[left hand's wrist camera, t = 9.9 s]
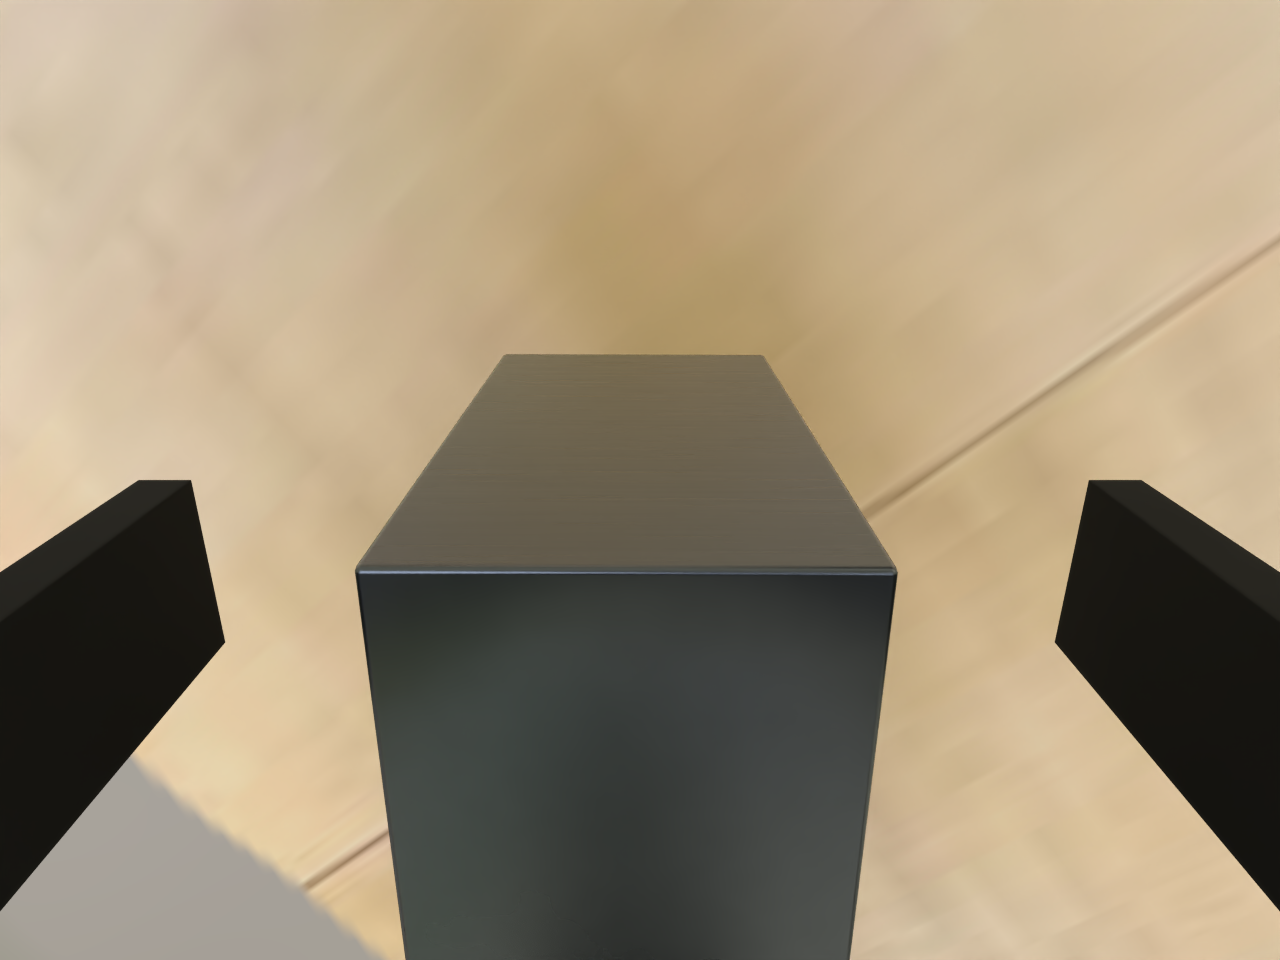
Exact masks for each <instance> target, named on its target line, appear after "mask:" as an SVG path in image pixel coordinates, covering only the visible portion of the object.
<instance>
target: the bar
mask: <svg viewBox="0 0 1280 960" xmlns="http://www.w3.org/2000/svg"><path fill="white" fill-rule="evenodd" d="M355 575H356V583H357V590H358V598H359V606H360V613H361V621H362V629H363V636H364V644H365V652H366V659H367V667H368V675H369V682H370V690H371V698H372V705H373V713H374V721H375V728H376V736H377V744H378V751H379V759H380V767H381V774H382V782H383V790H384V797H385V805H386V813H387V820H388V828H389V836H390V843H391V851H392V859H393V866H394V874H395V882H396V889H397V897H398V905H399V912H400V920H401V928H402V935H403V943H404V951H405V958H406V960H850V953H851V945H852V937H853V929H854V921H855V913H856V904H857V896H858V888H859V880H860V872H861V864H862V856H863V848H864V840H865V832H866V824H867V816H868V808H869V800H870V792H871V784H872V776H873V768H874V760H875V752H876V744H877V736H878V728H879V719H880V711H881V703H882V695H883V687H884V679H885V671H886V663H887V655H888V647H889V639H890V631H891V623H892V615H893V607H894V599H895V591H896V583H897V575H898V572H897V569H896V567H895V565H894V563H893V562H892V560H891V559H890V557H889V555H888V554H887V552H886V551H885V549H884V547H883V546H882V544H881V543H880V541H879V540H878V538H877V536H876V535H875V533H874V532H873V530H872V528H871V527H870V525H869V524H868V522H867V520H866V519H865V517H864V516H863V514H862V512H861V511H860V509H859V508H858V506H857V504H856V503H855V501H854V500H853V498H852V496H851V495H850V493H849V492H848V490H847V488H846V487H845V485H844V484H843V482H842V481H841V479H840V477H839V476H838V474H837V473H836V471H835V469H834V468H833V466H832V465H831V463H830V461H829V460H828V458H827V457H826V455H825V453H824V452H823V450H822V449H821V447H820V445H819V444H818V442H817V441H816V439H815V437H814V436H813V434H812V433H811V431H810V429H809V428H808V426H807V425H806V423H805V421H804V420H803V418H802V417H801V415H800V414H799V412H798V410H797V409H796V407H795V406H794V404H793V402H792V401H791V399H790V398H789V396H788V394H787V393H786V391H785V390H784V388H783V386H782V385H781V383H780V382H779V380H778V378H777V377H776V375H775V374H774V372H773V370H772V369H771V367H770V366H769V364H768V362H767V361H766V359H765V358H764V356H762V355H539V354H506V355H504V356H503V358H502V359H501V360H500V362H499V363H498V365H497V366H496V368H495V369H494V370H493V372H492V373H491V375H490V376H489V378H488V379H487V380H486V382H485V383H484V385H483V386H482V388H481V389H480V390H479V392H478V393H477V395H476V396H475V398H474V399H473V400H472V402H471V403H470V405H469V406H468V408H467V409H466V410H465V412H464V413H463V415H462V416H461V418H460V419H459V420H458V422H457V423H456V425H455V426H454V428H453V429H452V430H451V432H450V433H449V435H448V436H447V438H446V439H445V440H444V442H443V443H442V445H441V446H440V448H439V449H438V450H437V452H436V453H435V455H434V456H433V458H432V459H431V460H430V462H429V463H428V465H427V466H426V468H425V469H424V470H423V472H422V473H421V475H420V476H419V478H418V479H417V480H416V482H415V483H414V485H413V486H412V488H411V489H410V490H409V492H408V493H407V495H406V496H405V498H404V499H403V500H402V502H401V503H400V505H399V506H398V508H397V509H396V510H395V512H394V513H393V515H392V516H391V518H390V519H389V520H388V522H387V523H386V525H385V526H384V528H383V529H382V530H381V532H380V533H379V535H378V536H377V538H376V539H375V540H374V542H373V543H372V545H371V546H370V548H369V549H368V550H367V552H366V553H365V555H364V556H363V558H362V559H361V560H360V562H359V563H358V565H357V566H356V569H355Z"/></svg>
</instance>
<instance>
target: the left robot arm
mask: <svg viewBox="0 0 1280 960" xmlns="http://www.w3.org/2000/svg"><path fill="white" fill-rule="evenodd" d="M224 643H225V639H224V634H223V630H222V625H221V620H220V615H219V611H218V606H217V601H216V596H215V592H214V587H213V582H212V577H211V573H210V568H209V563H208V558H207V554H206V549H205V544H204V539H203V535H202V530H201V525H200V520H199V516H198V511H197V506H196V501H195V497H194V492H193V487H192V482H191V480H138V481H137V482H135V483H134V484H132V485H131V486H129V487H128V488H126V489H125V490H123V491H122V492H120V493H119V494H117V495H116V496H114V497H113V498H111V499H110V500H108V501H107V502H105V503H104V504H102V505H101V506H99V507H98V508H96V509H95V510H93V511H92V512H90V513H89V514H87V515H86V516H84V517H83V518H81V519H80V520H78V521H77V522H75V523H74V524H72V525H71V526H69V527H68V528H66V529H65V530H63V531H62V532H60V533H59V534H57V535H56V536H54V537H53V538H51V539H50V540H48V541H47V542H45V543H44V544H42V545H41V546H39V547H38V548H36V549H35V550H33V551H32V552H30V553H29V554H27V555H25V556H24V557H22V558H21V559H19V560H18V561H16V562H15V563H13V564H12V565H10V566H9V567H7V568H6V569H4V570H3V571H1V572H0V911H1V910H2V908H3V907H4V906H5V905H6V904H7V902H8V901H9V900H10V899H11V898H12V896H13V895H14V894H15V893H16V892H17V891H18V889H19V888H20V887H21V886H22V884H23V883H24V882H25V881H26V880H27V879H28V877H29V876H30V875H31V874H32V873H33V871H34V870H35V869H36V868H37V867H38V865H39V864H40V863H41V862H42V861H43V859H44V858H45V857H46V856H47V855H48V853H49V852H50V851H51V850H52V849H53V847H54V846H55V845H56V844H57V843H58V842H59V840H60V839H61V838H62V837H63V836H64V834H65V833H66V832H67V831H68V830H69V828H70V827H71V826H72V825H73V824H74V822H75V821H76V820H77V819H78V818H79V816H80V815H81V814H82V813H83V812H84V810H85V809H86V808H87V807H88V806H89V804H90V803H91V802H92V801H93V800H94V799H95V797H96V796H97V795H98V794H99V792H100V791H101V790H102V789H103V788H104V787H105V785H106V784H107V783H108V782H109V781H110V779H111V778H112V777H113V776H114V775H115V773H116V772H117V771H118V770H119V769H120V767H121V766H122V765H123V764H124V763H125V761H126V760H127V759H128V758H129V757H130V755H131V754H132V753H133V752H134V751H135V750H136V748H137V747H138V746H139V745H140V744H141V742H142V741H143V740H144V739H145V738H146V736H147V735H148V734H149V733H150V732H151V730H152V729H153V728H154V727H155V726H156V724H157V723H158V722H159V721H160V720H161V718H162V717H163V716H164V715H165V714H166V712H167V711H168V710H169V709H170V708H171V706H172V705H173V704H174V703H175V702H176V700H177V699H178V698H179V697H180V696H181V695H182V693H183V692H184V691H185V690H186V689H187V687H188V686H189V685H190V684H191V683H192V681H193V680H194V679H195V678H196V677H197V675H198V674H199V673H200V672H201V671H202V669H203V668H204V667H205V666H206V665H207V663H208V662H209V661H210V660H211V659H212V657H213V656H214V655H215V654H216V653H217V651H218V650H219V649H220V648H221V647H222V646H223V644H224ZM1055 643H1056V644H1057V646H1058V647H1059V648H1060V649H1061V650H1062V651H1063V653H1064V654H1065V655H1066V656H1067V657H1068V659H1069V660H1070V661H1071V662H1072V663H1073V665H1074V666H1075V667H1076V668H1077V669H1078V671H1079V672H1080V673H1081V674H1082V675H1083V677H1084V678H1085V679H1086V680H1087V681H1088V683H1089V684H1090V685H1091V686H1092V687H1093V689H1094V690H1095V691H1096V692H1097V693H1098V695H1099V696H1100V697H1101V698H1102V699H1103V700H1104V702H1105V703H1106V704H1107V705H1108V706H1109V708H1110V709H1111V710H1112V711H1113V712H1114V714H1115V715H1116V716H1117V717H1118V718H1119V720H1120V721H1121V722H1122V723H1123V724H1124V726H1125V727H1126V728H1127V729H1128V730H1129V732H1130V733H1131V734H1132V735H1133V736H1134V738H1135V739H1136V740H1137V741H1138V742H1139V744H1140V745H1141V746H1142V747H1143V748H1144V750H1145V751H1146V752H1147V753H1148V754H1149V755H1150V757H1151V758H1152V759H1153V760H1154V761H1155V763H1156V764H1157V765H1158V766H1159V767H1160V769H1161V770H1162V771H1163V772H1164V773H1165V775H1166V776H1167V777H1168V778H1169V779H1170V781H1171V782H1172V783H1173V784H1174V785H1175V787H1176V788H1177V789H1178V790H1179V791H1180V793H1181V794H1182V795H1183V796H1184V797H1185V799H1186V800H1187V801H1188V802H1189V803H1190V804H1191V806H1192V807H1193V808H1194V809H1195V810H1196V812H1197V813H1198V814H1199V815H1200V816H1201V818H1202V819H1203V820H1204V821H1205V822H1206V824H1207V825H1208V826H1209V827H1210V828H1211V830H1212V831H1213V832H1214V833H1215V834H1216V836H1217V837H1218V838H1219V839H1220V840H1221V842H1222V843H1223V844H1224V845H1225V846H1226V848H1227V849H1228V850H1229V851H1230V852H1231V853H1232V855H1233V856H1234V857H1235V858H1236V859H1237V861H1238V862H1239V863H1240V864H1241V865H1242V867H1243V868H1244V869H1245V870H1246V871H1247V873H1248V874H1249V875H1250V876H1251V877H1252V879H1253V880H1254V881H1255V882H1256V883H1257V885H1258V886H1259V887H1260V888H1261V889H1262V891H1263V892H1264V893H1265V894H1266V895H1267V897H1268V898H1269V899H1270V900H1271V901H1272V902H1273V904H1274V905H1275V906H1276V907H1277V908H1278V910H1279V911H1280V572H1279V571H1277V570H1276V569H1274V568H1273V567H1271V566H1270V565H1268V564H1267V563H1265V562H1264V561H1262V560H1261V559H1259V558H1258V557H1256V556H1255V555H1253V554H1251V553H1250V552H1248V551H1247V550H1245V549H1244V548H1242V547H1241V546H1239V545H1238V544H1236V543H1235V542H1233V541H1232V540H1230V539H1229V538H1227V537H1226V536H1224V535H1223V534H1221V533H1220V532H1218V531H1217V530H1215V529H1214V528H1212V527H1211V526H1209V525H1208V524H1206V523H1205V522H1203V521H1202V520H1200V519H1199V518H1197V517H1196V516H1194V515H1193V514H1191V513H1190V512H1188V511H1187V510H1185V509H1184V508H1182V507H1181V506H1179V505H1178V504H1176V503H1175V502H1173V501H1172V500H1170V499H1169V498H1167V497H1166V496H1164V495H1163V494H1161V493H1160V492H1158V491H1157V490H1155V489H1154V488H1152V487H1151V486H1149V485H1148V484H1146V483H1145V482H1143V481H1142V480H1089V482H1088V487H1087V492H1086V497H1085V501H1084V506H1083V511H1082V516H1081V520H1080V525H1079V530H1078V535H1077V539H1076V544H1075V549H1074V554H1073V558H1072V563H1071V568H1070V573H1069V577H1068V582H1067V587H1066V592H1065V596H1064V601H1063V606H1062V611H1061V615H1060V620H1059V625H1058V630H1057V634H1056V639H1055Z"/></svg>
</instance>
